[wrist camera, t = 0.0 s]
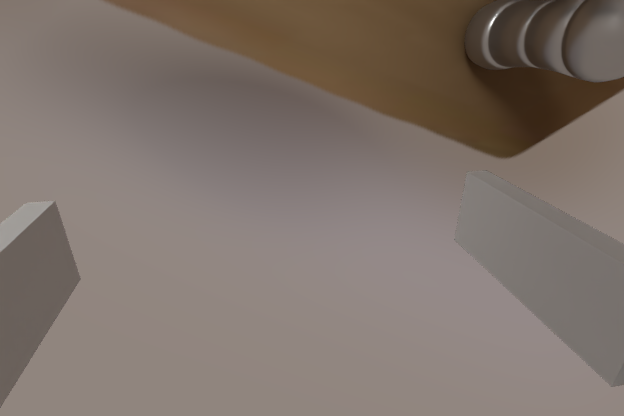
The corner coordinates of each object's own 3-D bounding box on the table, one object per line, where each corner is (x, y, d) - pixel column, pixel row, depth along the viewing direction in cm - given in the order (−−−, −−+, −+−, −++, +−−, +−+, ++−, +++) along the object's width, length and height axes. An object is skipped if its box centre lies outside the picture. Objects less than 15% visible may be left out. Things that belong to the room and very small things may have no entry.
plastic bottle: (448, 20, 38) (640, 8, 20) (508, -14, 37) (756, -56, 20) (464, 79, 41) (644, 114, 23) (520, 48, 40) (745, 59, 23)
